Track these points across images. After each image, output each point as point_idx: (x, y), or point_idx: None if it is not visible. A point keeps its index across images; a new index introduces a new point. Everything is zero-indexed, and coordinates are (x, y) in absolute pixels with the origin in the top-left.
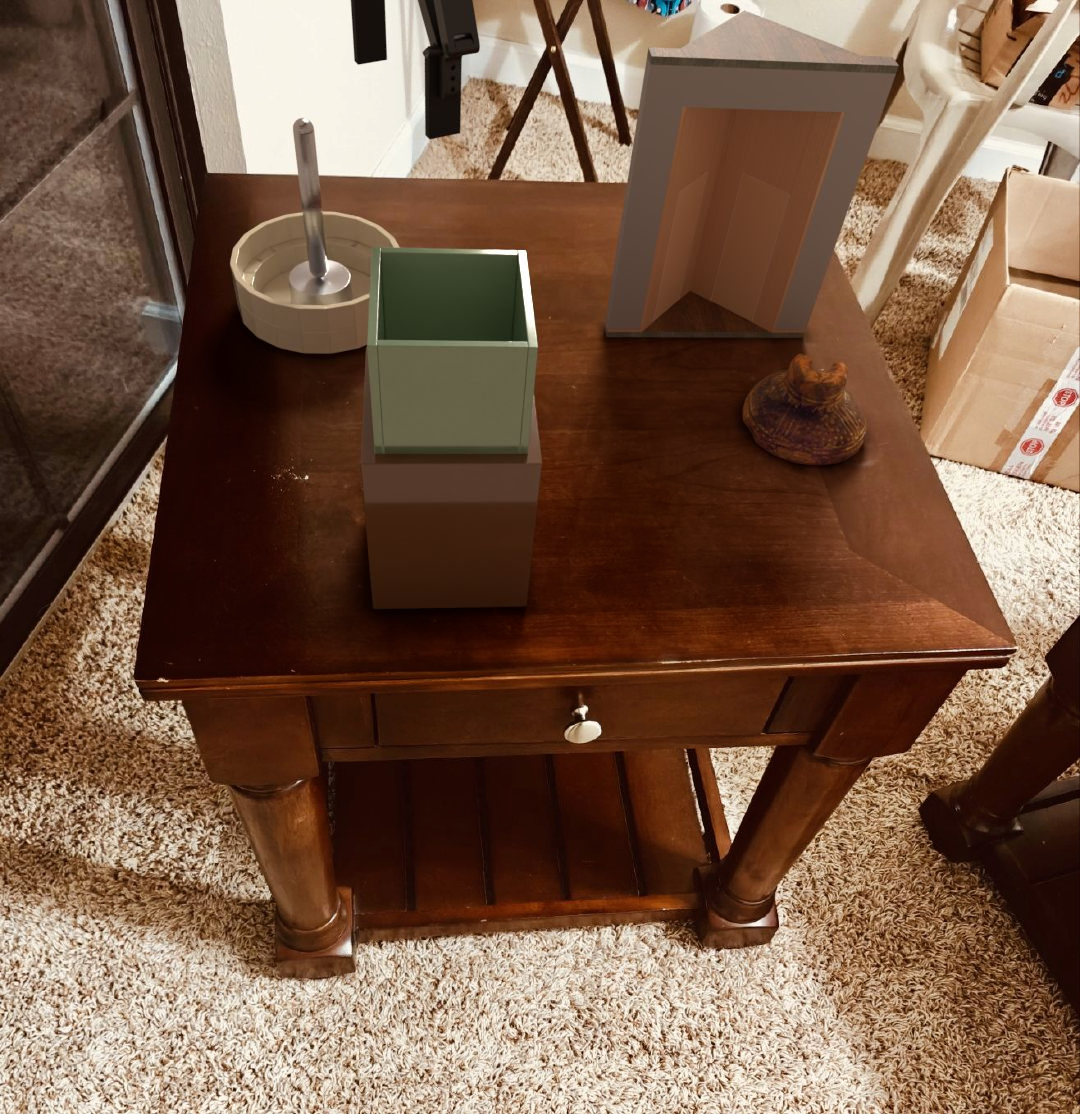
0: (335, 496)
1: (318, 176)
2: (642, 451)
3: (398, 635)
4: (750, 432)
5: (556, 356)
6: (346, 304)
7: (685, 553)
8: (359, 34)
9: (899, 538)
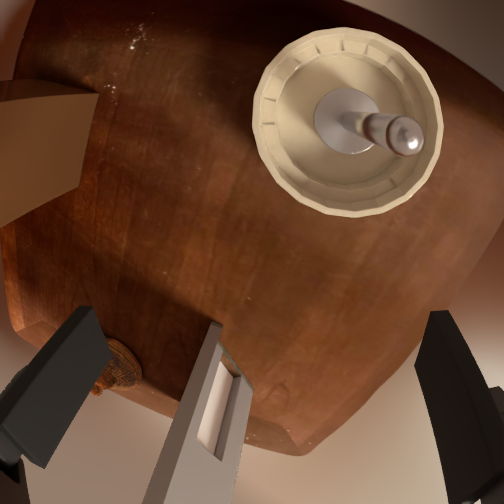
0: (109, 65)
1: (370, 141)
2: (101, 278)
3: None
4: (105, 336)
5: (201, 279)
6: (254, 118)
7: (38, 255)
8: (449, 365)
9: None
